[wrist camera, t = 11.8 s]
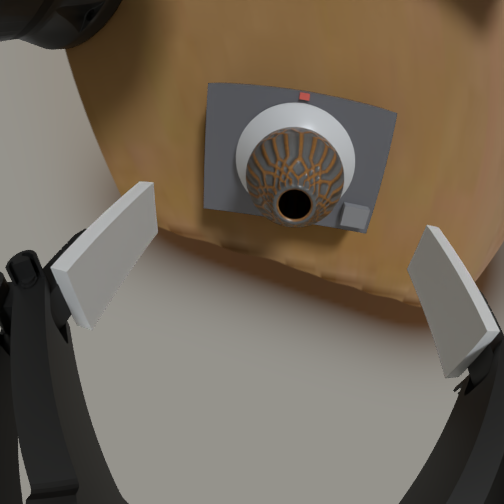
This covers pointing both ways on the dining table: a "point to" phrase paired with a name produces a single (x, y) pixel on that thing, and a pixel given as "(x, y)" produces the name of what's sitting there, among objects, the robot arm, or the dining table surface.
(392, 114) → the grey dome button box
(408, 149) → the dining table surface
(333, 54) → the dining table surface
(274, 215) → the vase
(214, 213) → the dining table surface
